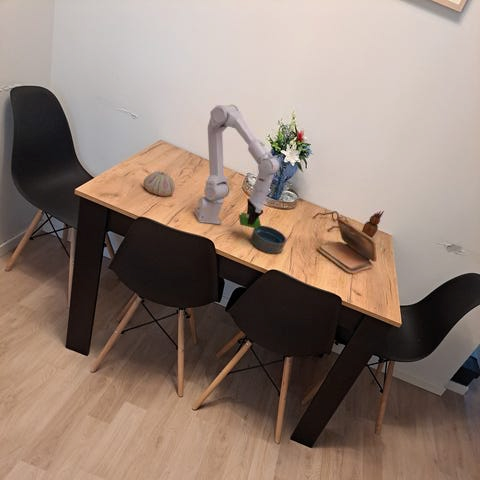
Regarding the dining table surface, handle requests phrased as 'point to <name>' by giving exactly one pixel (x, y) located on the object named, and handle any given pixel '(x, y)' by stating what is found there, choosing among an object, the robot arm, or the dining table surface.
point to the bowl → (268, 239)
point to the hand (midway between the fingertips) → (249, 221)
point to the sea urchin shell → (159, 183)
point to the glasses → (332, 218)
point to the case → (351, 249)
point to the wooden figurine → (372, 225)
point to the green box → (244, 221)
